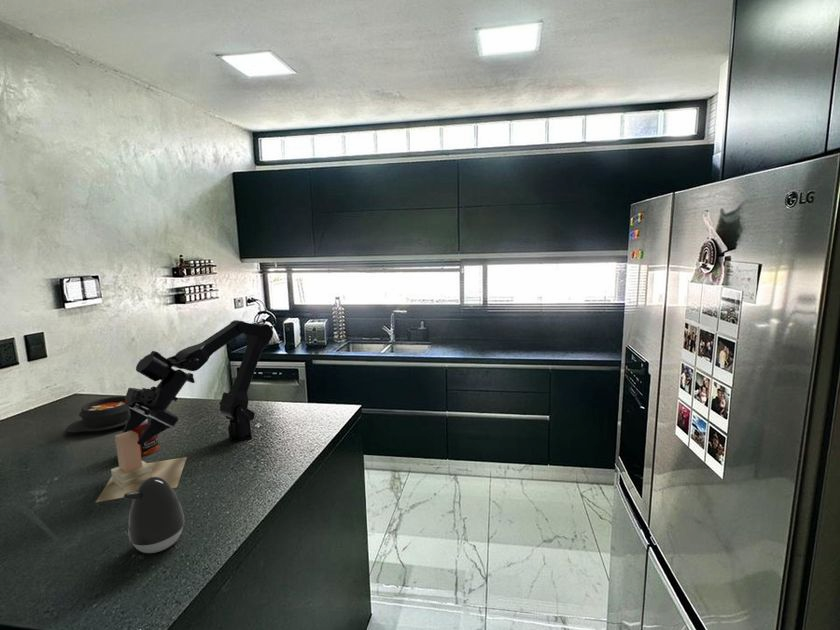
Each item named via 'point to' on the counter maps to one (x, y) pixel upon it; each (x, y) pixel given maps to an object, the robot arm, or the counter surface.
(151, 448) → the canned food
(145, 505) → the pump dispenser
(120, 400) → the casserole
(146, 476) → the slab bottom
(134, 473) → the slab top
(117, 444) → the post
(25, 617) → the counter surface
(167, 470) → the beige square cloth
